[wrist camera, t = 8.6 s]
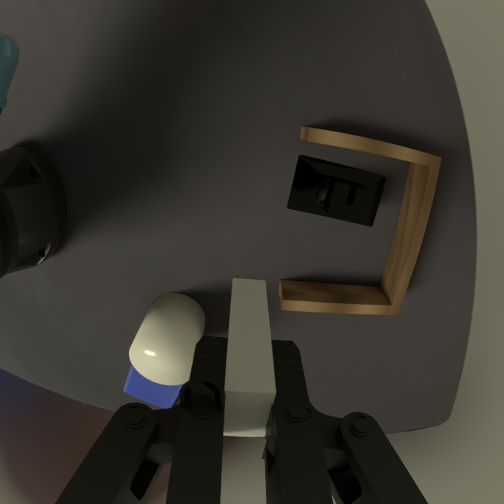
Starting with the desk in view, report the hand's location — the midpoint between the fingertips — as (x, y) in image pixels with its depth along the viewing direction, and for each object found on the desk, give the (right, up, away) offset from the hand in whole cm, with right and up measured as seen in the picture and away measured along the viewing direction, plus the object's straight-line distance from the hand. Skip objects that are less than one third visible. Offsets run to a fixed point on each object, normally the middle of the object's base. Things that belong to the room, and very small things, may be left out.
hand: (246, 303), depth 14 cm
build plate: (+9, +9, +15) cm, 20 cm away
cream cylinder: (-9, -5, +21) cm, 23 cm away
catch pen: (+10, +6, +16) cm, 19 cm away
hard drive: (-14, -16, +26) cm, 33 cm away
